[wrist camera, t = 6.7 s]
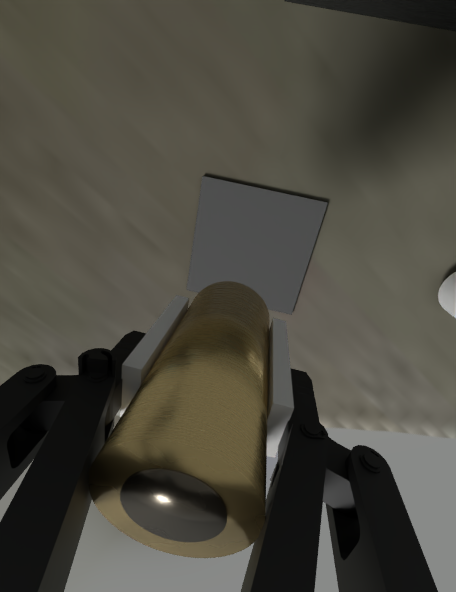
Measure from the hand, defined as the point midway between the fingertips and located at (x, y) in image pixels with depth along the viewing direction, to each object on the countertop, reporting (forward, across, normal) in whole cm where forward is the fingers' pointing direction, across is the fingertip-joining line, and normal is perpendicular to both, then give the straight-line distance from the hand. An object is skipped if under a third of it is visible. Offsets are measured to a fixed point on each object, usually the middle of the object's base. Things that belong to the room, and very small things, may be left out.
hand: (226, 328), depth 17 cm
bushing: (+1, 0, 0) cm, 1 cm away
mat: (+19, 0, 0) cm, 19 cm away
